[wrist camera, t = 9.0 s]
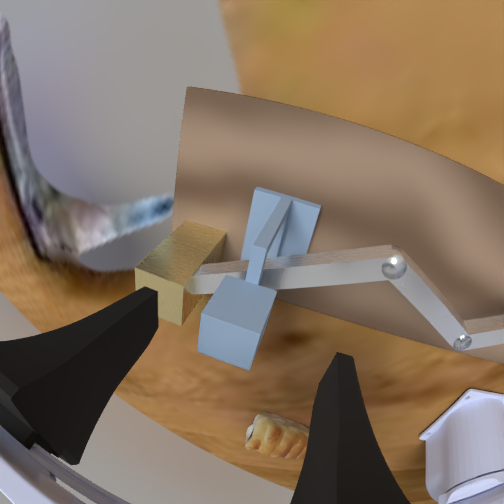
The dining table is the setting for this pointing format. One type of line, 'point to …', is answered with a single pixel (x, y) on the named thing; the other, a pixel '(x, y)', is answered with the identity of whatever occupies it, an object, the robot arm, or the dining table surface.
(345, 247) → the tan flat sheet
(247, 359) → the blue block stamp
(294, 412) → the dining table surface
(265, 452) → the pastry
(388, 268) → the jointed linkage mechanism
